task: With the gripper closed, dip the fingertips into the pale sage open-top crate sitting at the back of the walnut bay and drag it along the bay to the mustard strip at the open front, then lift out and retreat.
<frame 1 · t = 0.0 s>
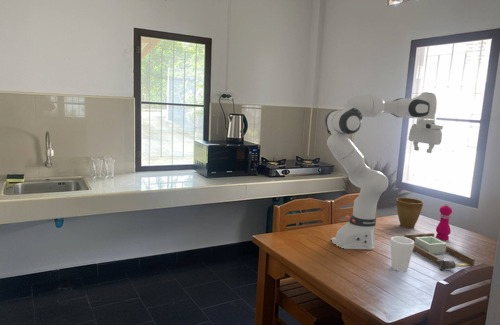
hand: (422, 151, 194), 48 cm above the table, fingers open, 8 cm apart
foam cup: (399, 269, 164), on the table
plant pot: (406, 226, 226), on the table
pepper mill: (442, 238, 206), on the table
crate: (430, 245, 186), point 3 cm above the table, slide at 0.0 cm
bay: (436, 254, 182), on the table
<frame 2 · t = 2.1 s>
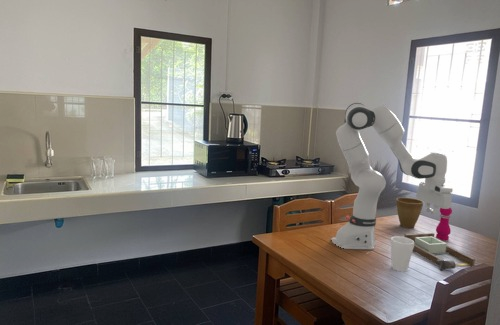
hand: (431, 212, 186), 19 cm above the table, fingers closed
nothing on the table moved.
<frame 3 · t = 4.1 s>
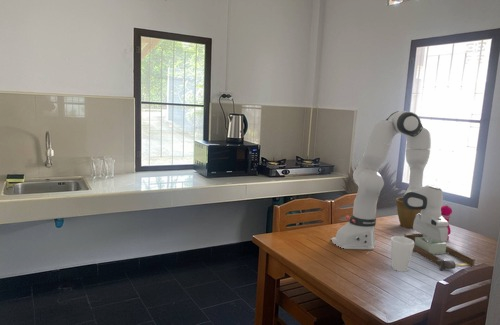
hand: (427, 244, 188), 3 cm above the table, fingers closed
crate: (430, 245, 186), point 3 cm above the table, slide at 0.0 cm, touching gripper
everything else where it was.
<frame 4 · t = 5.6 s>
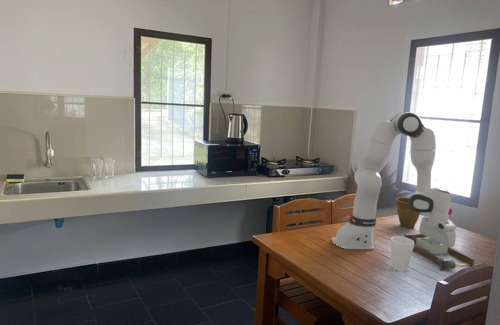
hand: (434, 248, 184), 2 cm above the table, fingers closed
crate: (431, 246, 185), point 3 cm above the table, slide at 1.0 cm, touching gripper
everything else where it was.
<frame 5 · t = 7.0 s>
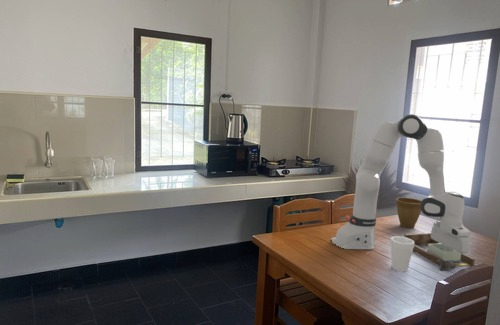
hand: (447, 255, 176), 2 cm above the table, fingers closed
crate: (443, 252, 178), point 3 cm above the table, slide at 9.1 cm, touching gripper
everything else where it was.
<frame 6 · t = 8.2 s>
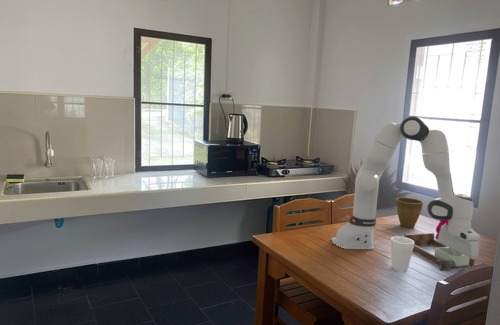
hand: (455, 259, 171), 2 cm above the table, fingers closed
crate: (451, 256, 173), point 3 cm above the table, slide at 14.0 cm, touching gripper
everything else where it was.
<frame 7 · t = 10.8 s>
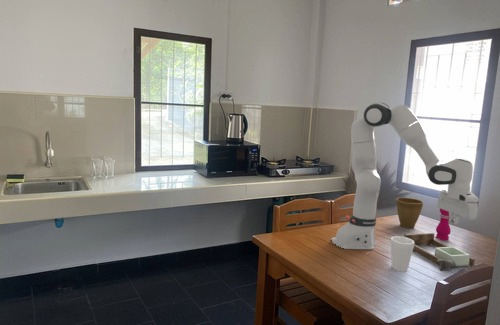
hand: (453, 222, 173), 18 cm above the table, fingers closed
crate: (451, 256, 173), point 3 cm above the table, slide at 14.0 cm
everything else where it was.
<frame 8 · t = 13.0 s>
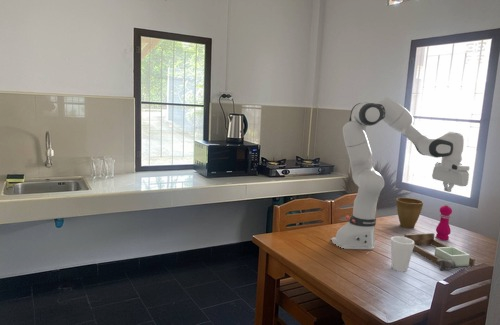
hand: (447, 191, 190), 29 cm above the table, fingers closed
nothing on the table moved.
at the end: crate slide at 14.0 cm; crate touching nothing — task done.
